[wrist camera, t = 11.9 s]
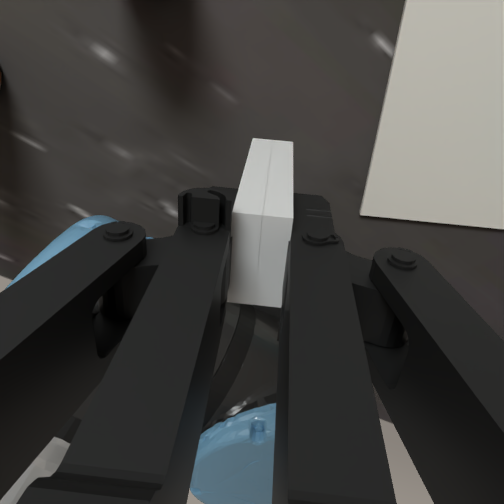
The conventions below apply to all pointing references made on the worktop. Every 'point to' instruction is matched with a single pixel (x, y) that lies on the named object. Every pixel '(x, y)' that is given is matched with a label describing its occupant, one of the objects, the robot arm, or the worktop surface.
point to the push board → (442, 118)
